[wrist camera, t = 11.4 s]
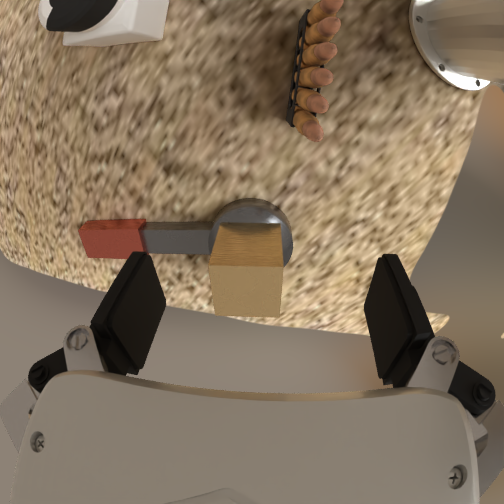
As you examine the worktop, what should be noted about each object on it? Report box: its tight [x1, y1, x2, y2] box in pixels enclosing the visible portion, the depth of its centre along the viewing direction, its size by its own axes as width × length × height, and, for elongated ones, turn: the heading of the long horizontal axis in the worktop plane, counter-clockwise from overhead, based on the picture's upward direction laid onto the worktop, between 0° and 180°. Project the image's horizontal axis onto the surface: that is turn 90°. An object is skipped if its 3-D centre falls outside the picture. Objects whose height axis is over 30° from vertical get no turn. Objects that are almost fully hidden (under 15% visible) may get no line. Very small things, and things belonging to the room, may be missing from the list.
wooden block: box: [208, 222, 283, 317], centre depth 27 cm, size 6×6×7 cm
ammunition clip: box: [286, 0, 343, 142], centre depth 16 cm, size 11×2×12 cm, turn 174°
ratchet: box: [78, 198, 293, 268], centre depth 29 cm, size 26×9×6 cm, turn 91°
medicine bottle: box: [38, 0, 169, 47], centre depth 12 cm, size 7×7×12 cm
